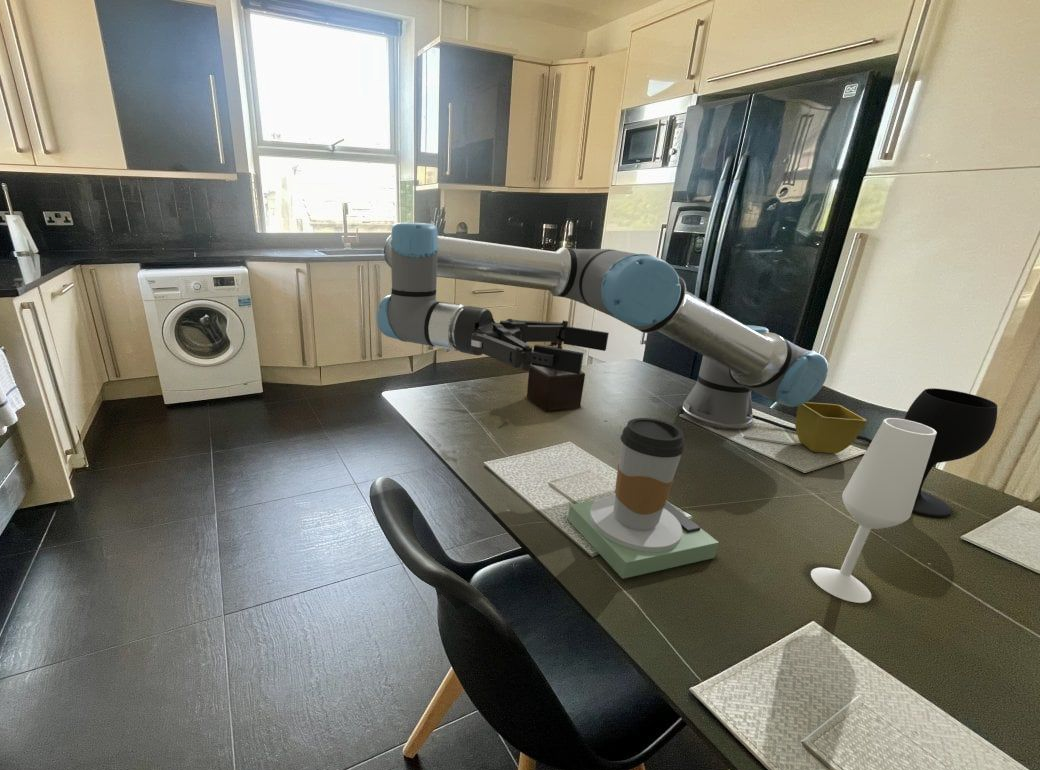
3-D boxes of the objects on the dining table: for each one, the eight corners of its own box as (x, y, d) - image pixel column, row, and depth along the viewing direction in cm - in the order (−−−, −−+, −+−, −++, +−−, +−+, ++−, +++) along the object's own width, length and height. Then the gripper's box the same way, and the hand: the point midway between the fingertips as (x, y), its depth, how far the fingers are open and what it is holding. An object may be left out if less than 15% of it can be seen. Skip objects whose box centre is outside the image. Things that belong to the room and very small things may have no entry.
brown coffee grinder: (583, 408, 122) (594, 338, 116) (545, 412, 119) (554, 341, 112) (551, 387, 136) (559, 324, 129) (516, 390, 132) (522, 325, 126)
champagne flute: (853, 608, 62) (930, 442, 53) (799, 574, 68) (861, 419, 59) (882, 594, 65) (960, 433, 56) (828, 562, 71) (891, 411, 62)
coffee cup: (662, 509, 75) (684, 422, 70) (667, 542, 68) (691, 446, 62) (606, 498, 78) (623, 412, 72) (605, 528, 70) (623, 435, 65)
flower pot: (826, 440, 109) (840, 404, 106) (853, 459, 101) (868, 420, 98) (785, 437, 110) (797, 401, 107) (808, 456, 102) (822, 417, 99)
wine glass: (935, 493, 90) (984, 393, 82) (963, 524, 81) (1021, 415, 73) (865, 479, 93) (906, 382, 86) (885, 507, 85) (932, 402, 77)
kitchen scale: (648, 504, 83) (653, 486, 82) (714, 557, 71) (720, 537, 69) (567, 519, 78) (570, 499, 77) (622, 579, 66) (627, 557, 65)
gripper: (494, 336, 90) (611, 356, 80) (420, 370, 70) (563, 403, 60) (497, 295, 87) (619, 311, 77) (421, 319, 67) (572, 344, 57)
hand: (595, 351), depth 68 cm, fingers open, 13 cm apart
